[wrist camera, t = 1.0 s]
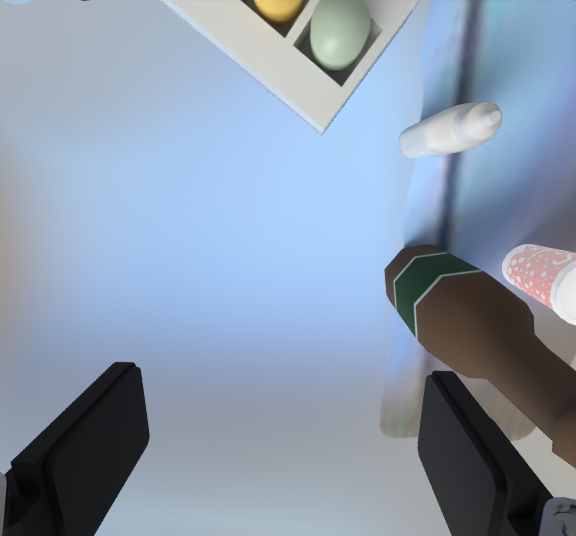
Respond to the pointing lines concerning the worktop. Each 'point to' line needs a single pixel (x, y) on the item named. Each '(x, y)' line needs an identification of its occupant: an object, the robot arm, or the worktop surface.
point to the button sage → (338, 33)
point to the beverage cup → (545, 276)
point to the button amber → (279, 10)
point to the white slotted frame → (291, 51)
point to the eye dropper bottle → (451, 130)
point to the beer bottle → (485, 337)
